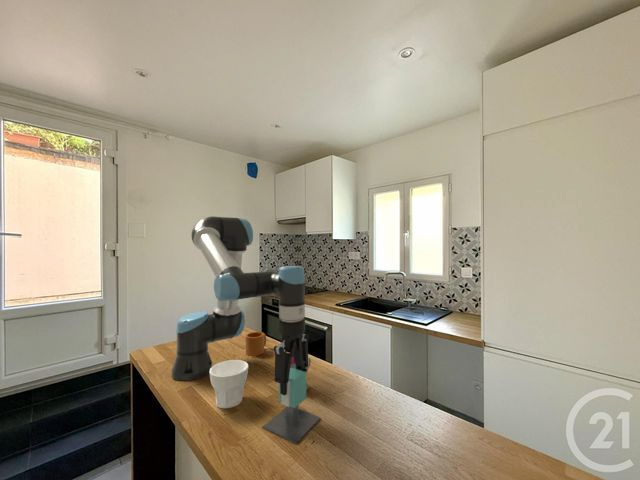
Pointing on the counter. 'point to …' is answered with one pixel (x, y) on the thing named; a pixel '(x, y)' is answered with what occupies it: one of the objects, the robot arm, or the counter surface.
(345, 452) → the counter surface
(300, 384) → the teal block
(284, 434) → the grey square tile
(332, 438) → the counter surface
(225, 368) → the cup
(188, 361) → the robot arm
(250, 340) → the mug
